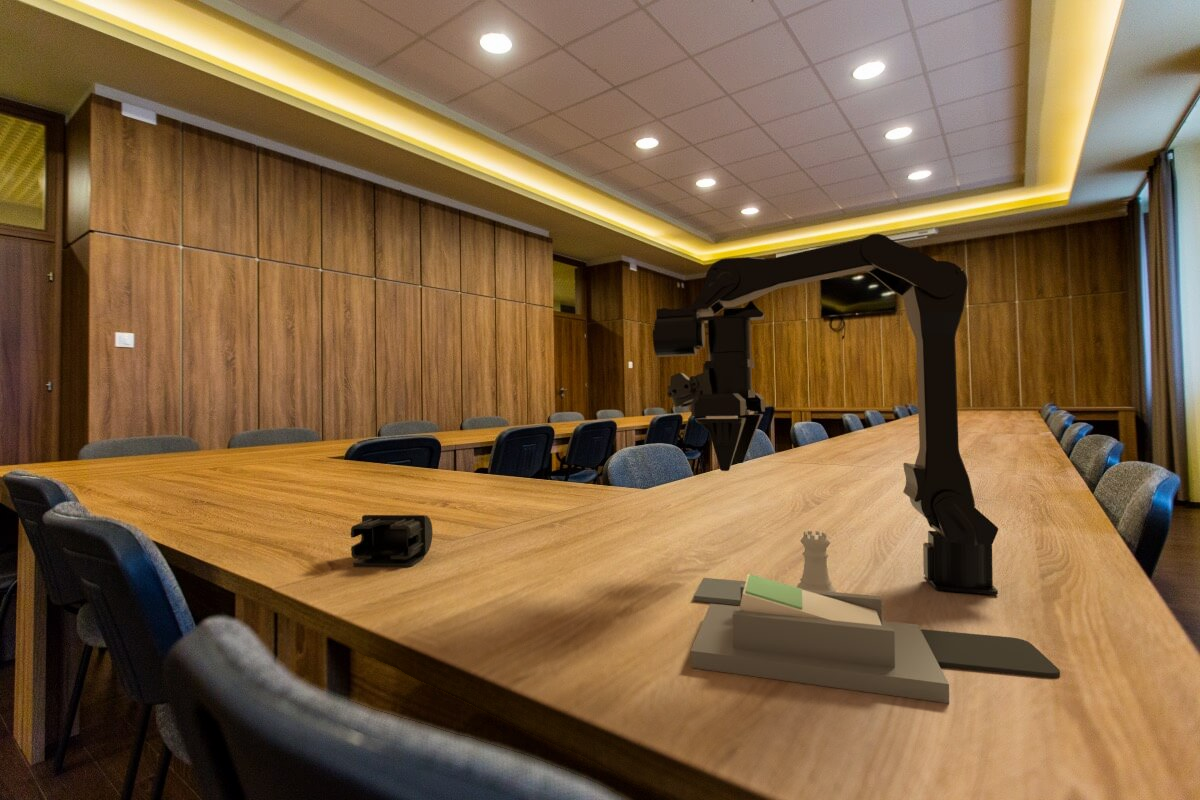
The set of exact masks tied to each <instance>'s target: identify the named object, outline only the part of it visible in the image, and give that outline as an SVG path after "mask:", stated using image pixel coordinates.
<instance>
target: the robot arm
mask: <svg viewBox="0 0 1200 800" xmlns="http://www.w3.org/2000/svg"><path fill="white" fill-rule="evenodd" d="M861 272H862V273H863V272H866V273H868V274H871V275H872V276H873V277H874V278H876V279H877V280H878V281H879V282H880V283H882V284H883V285H884V286H885V287H886V288H887V289H889V290H890V291H892V292H894V293H895V294H896V295H898V296H900V297H902V299H903V305H904V308H905V313H906V316H907V321H908V323H909V326H910V329H911V331H912V334H913V336H914V339H915V347H916V348H915V349H916V374H917V376H916V377H917V379H916V380H917V381H916V382H917V384H916V385H917V401H918V402H917V406H918V407H917V409H918V412H917V413H918V437H919V438H918V439H919V440H918V441H919V445H918V446H919V448H918V453H917V457H916V459H915V462H914V463H909V462H904V463H903V471H904V475H905V486H904V488H903V491H902V492H903V494H904V495H906V496H908V498H909V501H910V502H909V503H911V505H912V507H913V508H914V509H915V510H916V512H918V513H919V514H920V515H922V516H923V517H924V518H925V519H926V521H927V524H928V526H929V527H930V528H932V529H933V530H928V531H927V542H924V543H923V544H922V545H923V546H922V547H923V548H922V551H923V552H922V553H923V558H922V559H923V560H922V561H923V562H922V563H923V575H924V577H926V579H927V580H928V581H929V582H930V584H931V585H932V587H933V588H934V589H935V590H938V591H946V592H957V593H971V594H982V595H993V596H994V595H999V590H998V588H996V587H995V586H994V584H993V583H994V581H993V580H994V579H993V578H994V577H993V571H994V570H993V543H994V541H995V539H996V536H997V534H998V531H999V528H998V527H997V525H995V524H994V523H993V522H992V521H991V520H990V519H989V518H988V517H986V516H985V515H984V514H983V513H982V512H981V511H980V510H979V509H977V508H976V503H975V502H976V501H975V497H974V494H973V493H974V492H973V489H972V485H971V481H970V477H969V474H968V472H967V469H966V467H965V464H964V461H963V458H962V455H961V453H960V447H959V417H958V414H959V413H958V387H957V386H958V385H957V355H956V354H957V353H956V350H957V349H956V335H957V331H958V328H959V326H960V323H961V319H962V316H963V312H964V310H965V303H966V297H967V290H968V285H969V280H968V275H967V273H966V272H965V270H964V269H962V268H961V267H960V266H958V265H957V264H956V263H953V262H952V261H951V262H950V261H946V260H936V259H935V258H933V257H932V256H929V255H928V254H926V253H923V252H922V251H919V250H917V249H914V248H911V247H908V246H905V245H903V244H901V243H898V242H896V241H894V240H893V239H892V238H890V237H888V236H886V235H885V234H881V233H872V234H869V235H867V236H866V237H862V238H858V239H853V240H849V241H845V242H841V243H835V244H831V245H827V246H823V247H818V248H813V249H809V250H804V251H799V252H795V253H791V254H786V255H781V256H777V257H766V258H765V257H753V256H752V257H749V256H748V257H747V256H746V257H745V256H742V257H727V258H726V257H725V258H721V259H718V260H716V261H715V262H713V263H712V264H711V266H710V267H709V269H708V270H707V272H706V274H705V277H704V281H705V282H704V286H703V288H702V289H701V291H700V292H699V293H698V295H697V297H696V298H695V299H694V301H693V302H692V304H691V305H690V307H683V308H666V307H665V308H663V307H662V308H656V310H655V311H656V315H655V316H656V317H655V319H654V328H653V330H652V342H653V344H652V345H653V350H654V354H655V356H656V357H657V358H659V357H660V358H662V357H681V356H682V357H685V356H687V357H688V356H697V355H698V350H701V349H702V348H705V345H706V344H705V343H706V333H705V332H706V330H705V324H707V331H708V332H707V334H708V340H707V341H708V360H705V361H704V363H703V364H702V370H703V371H702V373H701V372H700V373H698V374H696V375H691V376H690V377H689V376H688V375H686V374H685V373H683V372H678V373H675V374H673V375H671V376H670V378H669V379H670V380H669V385H668V386H666V387H667V390H668V391H667V393H666V394H667V395H666V396H667V397H668V398H671V400H672V402H673V404H674V407H675V408H676V409H677V408H679V407H680V408H686V407H688V406H690V407H691V409H690V410H691V415H690V416H691V417H699V418H695V419H694V420H695V422H696V423H697V424H700V425H701V426H702V427H704V429H705V430H707V432H708V433H709V436H710V439H711V442H712V446H713V450H714V452H715V455H716V460H717V463H718V467H719V470H720V471H721V472H728V471H730V469H731V466H732V464H733V460H734V461H735V463H736V464H743V463H744V462H745V460H746V457H747V455H748V452H749V449H750V447H751V444H752V442H753V440H754V437H755V434H756V432H757V430H758V427H759V424H760V422H761V421H762V418H763V416H764V413H762V412H765V411H766V408H765V407H766V406H765V405H766V403H765V399H766V398H764V396H762V395H761V394H760V392H759V393H758V392H756V390H755V389H753V379H752V378H753V376H752V375H753V374H752V371H753V370H752V369H755V360H753V359H752V338H751V335H752V333H751V321H763V320H764V319H765V313H764V311H762V310H761V309H760V308H759V307H757V306H756V305H755V303H754V300H756V299H758V298H760V297H762V296H764V295H766V294H768V293H771V292H774V291H776V290H778V289H779V290H780V289H782V288H783V289H784V288H787V287H792V286H797V285H802V284H807V283H813V282H816V281H817V282H818V281H821V280H827V279H832V278H836V277H842V276H846V275H851V274H857V273H861ZM745 303H747V304H746V306H743V307H737V306H740V305H743V304H745ZM722 310H723V314H721V315H716V314H718V313H719V312H721V311H722ZM754 412H757V413H754ZM758 412H759V413H760V414H759V413H758ZM761 413H762V414H761Z"/></svg>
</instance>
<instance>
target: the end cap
mask: <svg viewBox="0 0 1200 800" xmlns="http://www.w3.org/2000/svg"><path fill="white" fill-rule="evenodd" d="M358 536H360V537H361V538H360V541H359V542H358V543H356V544H354V545H351V547H350V551H351V558H353V559H357V560H355V561H353V562H352V563H353V564H352V566H353V567H354V568H357V567H359V568H401V569H402V568H407V569H408V568H412V567H414V566H415V565H417V564H419V563H420V562H422V561H423V560H424V558H425V557H426V555H427V554H428V553H429V550H430V548H431V547H432V546H431V545H432V541H433V524H432V521H431V519H430V517H429V516H428V515H425V514H364V515H362V516H361V522H359V523H357V524H355V525H353V526H351V528H350V538H351V539H352V538H353V539H354V538H357V537H358Z"/></svg>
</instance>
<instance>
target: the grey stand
mask: <svg viewBox="0 0 1200 800" xmlns="http://www.w3.org/2000/svg"><path fill="white" fill-rule="evenodd" d="M744 587H745V584H741V587H740V590H741V599H742V594H743V591H744ZM802 590H805V589H802ZM805 591H809V592H812V593H816V594H819V595H823V596H826V597H830V598H833V599H837V600H840V601H843V602H847V603H850V604H854V605H857V606H861V607H864V608H868V609H871V610H875V611H877V614H878V617H879V619H880V622H881V625H873V624H863V623H853V622H843V621H834V620H824V619H814V618H805V617H795V616H785V615H776V614H766V613H756V612H747V611H743V610H740V605H730V604H720V603H709V605H708V608H707V611H706V612H705V615H704V617H703V620H702V623H701V624H700V627H699V630H698V632H697V635H696V637H695V639H694V642H693V644H692V647H691V649H690V668H691V669H692V668H693V669H699V670H707V671H714V672H719V673H728V674H736V675H741V676H742V675H743V676H749V677H756V678H764V679H770V680H777V681H787V682H791V683H799V684H800V683H801V684H807V685H814V686H815V685H816V686H821V687H827V688H835V689H837V688H838V689H842V690H851V691H857V692H863V693H864V692H865V693H872V694H878V695H879V694H880V695H885V696H893V697H900V698H908V699H914V700H915V699H916V700H921V701H930V702H935V703H945V704H950V683H949V681H948V680H947V678H946V676H945V673H944V672H943V670H942V668H940V666H939V664H938V662H937V660H936V658H935V656H934V655H933V653H932V651H931V649H930V647H929V645H928V643H927V641H926V639H925V637H924V636H923V634H922V632H921V630H920V629H921V628H920V627H919V624H914V623H906V622H897V621H886V620H882V619H883V618H882V615H883V614H882V611H883V610H882V598H881V596H880V595H874V594H873V595H872V594H871V595H870V594H862V593H859V594H858V593H850V592H849V593H848V592H837V591H836V592H828V591H816V590H805Z"/></svg>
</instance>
